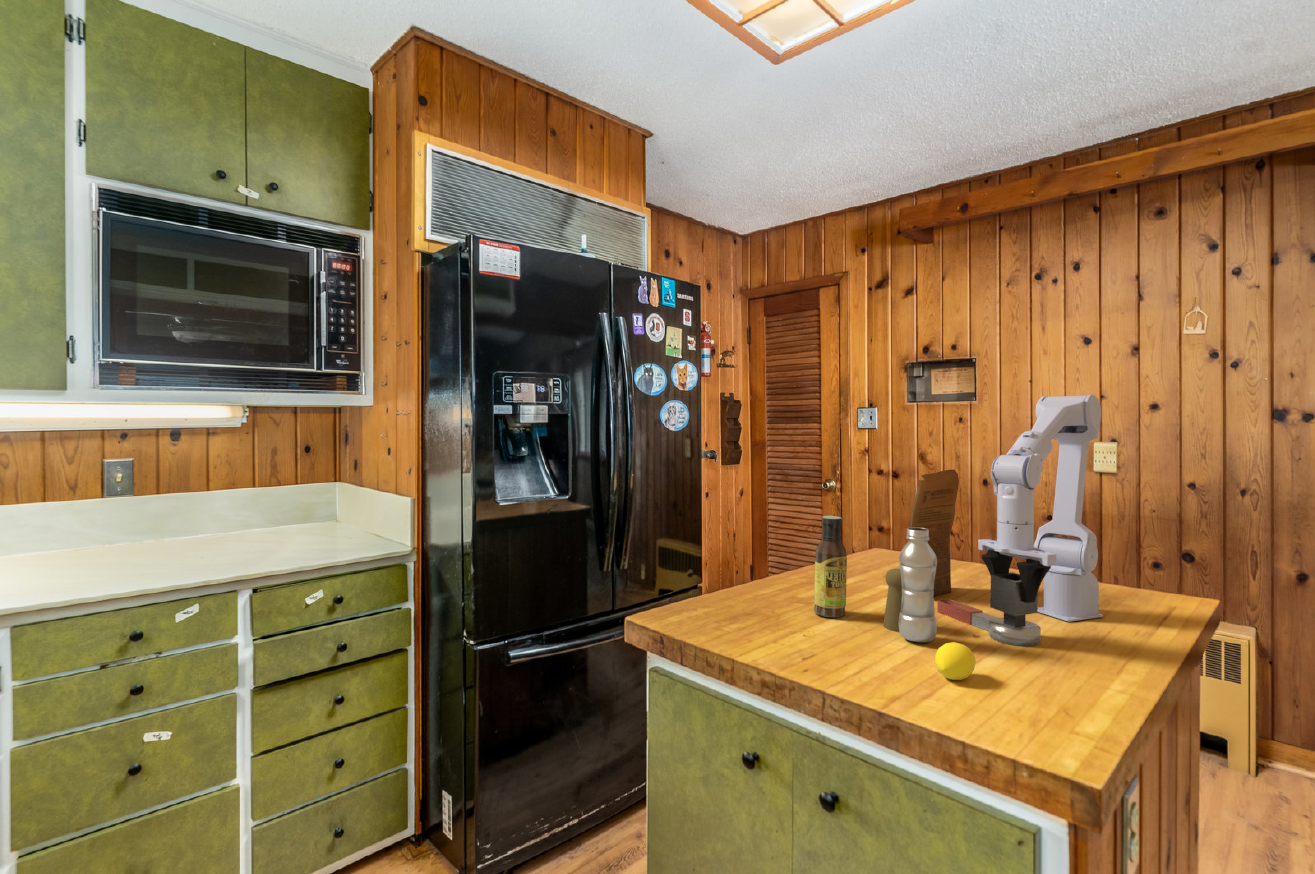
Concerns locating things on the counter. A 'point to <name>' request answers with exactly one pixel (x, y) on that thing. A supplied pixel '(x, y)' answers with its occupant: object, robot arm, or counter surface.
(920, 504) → the pancake mix bag
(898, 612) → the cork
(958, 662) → the lemon
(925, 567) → the plastic bottle
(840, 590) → the sauce bottle
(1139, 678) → the counter surface
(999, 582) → the square hollow tube
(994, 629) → the ratchet
